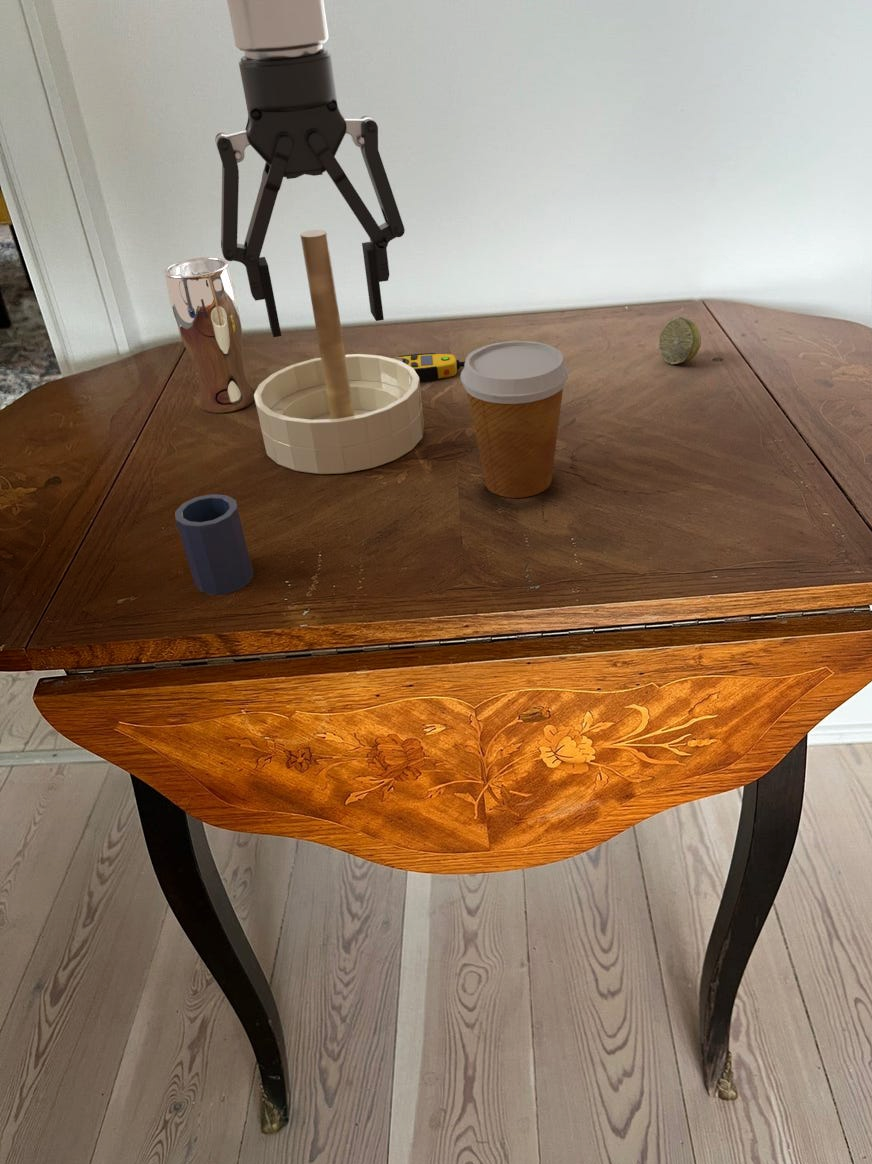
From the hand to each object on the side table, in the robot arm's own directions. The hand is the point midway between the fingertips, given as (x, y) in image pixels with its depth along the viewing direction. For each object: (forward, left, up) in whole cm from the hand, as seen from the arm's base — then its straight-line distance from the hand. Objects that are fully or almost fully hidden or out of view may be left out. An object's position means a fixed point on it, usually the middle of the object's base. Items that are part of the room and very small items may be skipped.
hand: (327, 323), depth 91 cm
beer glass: (-11, +15, -13) cm, 22 cm away
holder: (-14, -22, -12) cm, 29 cm away
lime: (+40, +5, -13) cm, 42 cm away
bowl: (0, 0, -12) cm, 12 cm away
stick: (0, 0, -12) cm, 12 cm away
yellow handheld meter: (+14, +13, -13) cm, 23 cm away
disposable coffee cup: (+14, -15, -13) cm, 24 cm away
